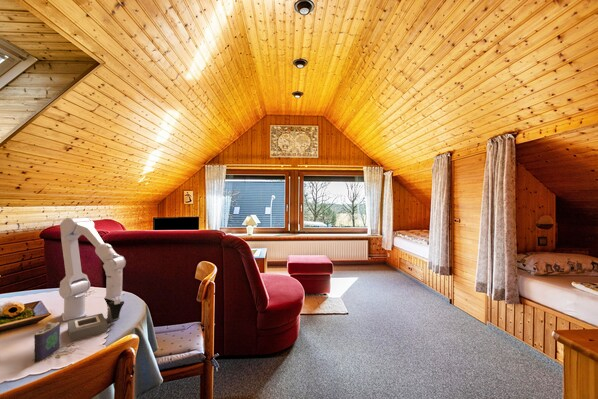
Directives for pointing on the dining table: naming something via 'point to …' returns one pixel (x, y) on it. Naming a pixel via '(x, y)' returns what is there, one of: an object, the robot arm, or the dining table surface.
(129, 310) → the dining table surface
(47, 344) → the flask
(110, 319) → the lens
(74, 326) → the grey frame block
